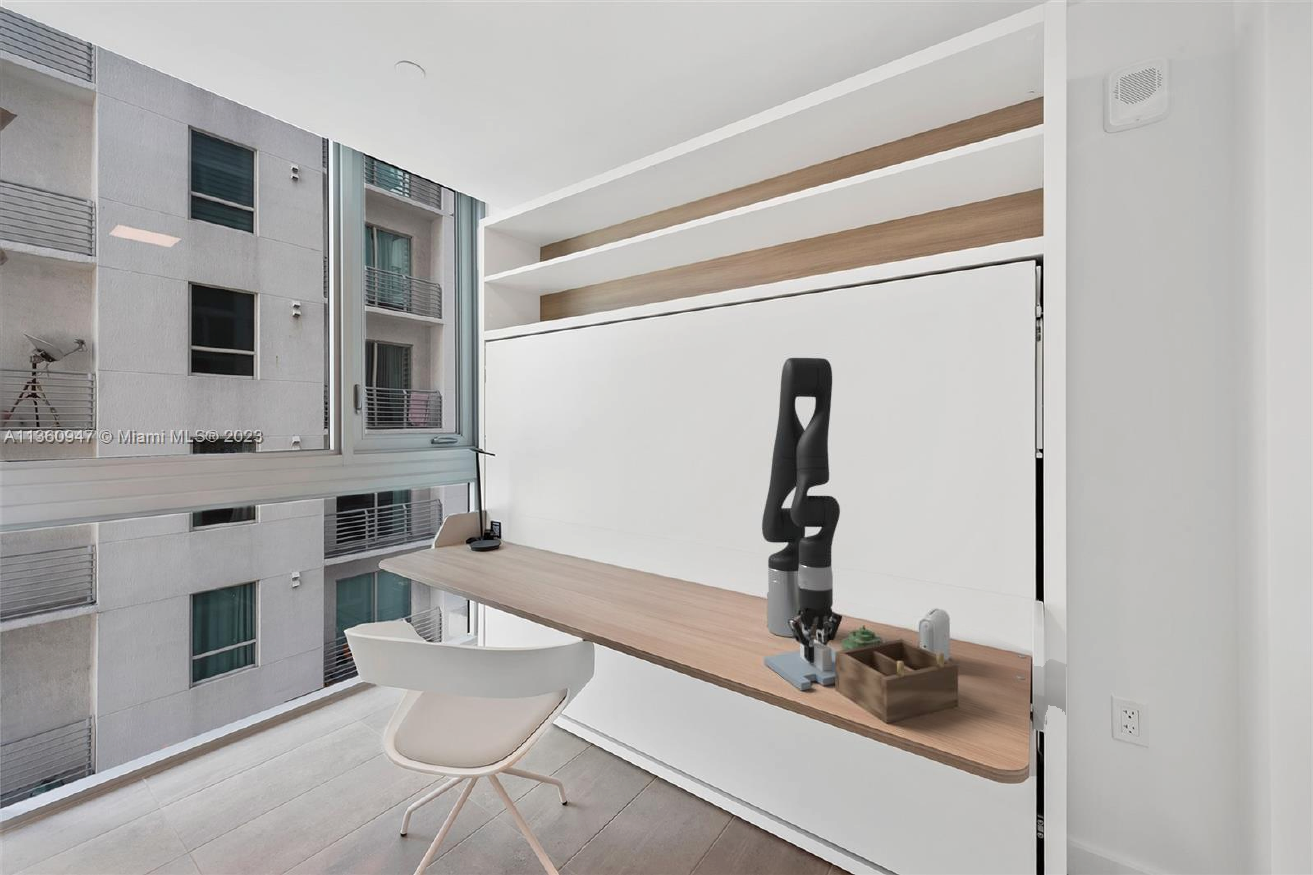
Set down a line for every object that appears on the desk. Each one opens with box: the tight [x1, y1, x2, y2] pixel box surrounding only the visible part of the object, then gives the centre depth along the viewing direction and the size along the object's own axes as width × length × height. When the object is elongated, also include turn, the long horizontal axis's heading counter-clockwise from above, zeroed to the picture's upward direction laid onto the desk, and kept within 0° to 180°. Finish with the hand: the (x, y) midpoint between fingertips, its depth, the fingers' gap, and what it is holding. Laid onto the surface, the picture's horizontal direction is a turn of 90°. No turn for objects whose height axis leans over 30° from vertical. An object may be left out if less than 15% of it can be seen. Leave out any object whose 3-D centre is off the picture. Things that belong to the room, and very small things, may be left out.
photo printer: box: [918, 607, 951, 661], centre depth 124 cm, size 10×4×12 cm, turn 133°
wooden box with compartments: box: [834, 638, 959, 725], centre depth 108 cm, size 14×18×10 cm
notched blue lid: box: [763, 638, 838, 691], centre depth 120 cm, size 14×18×6 cm
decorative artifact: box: [841, 625, 884, 651], centre depth 129 cm, size 10×7×10 cm
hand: (815, 660), depth 120 cm, fingers closed on notched blue lid, 2 cm apart
